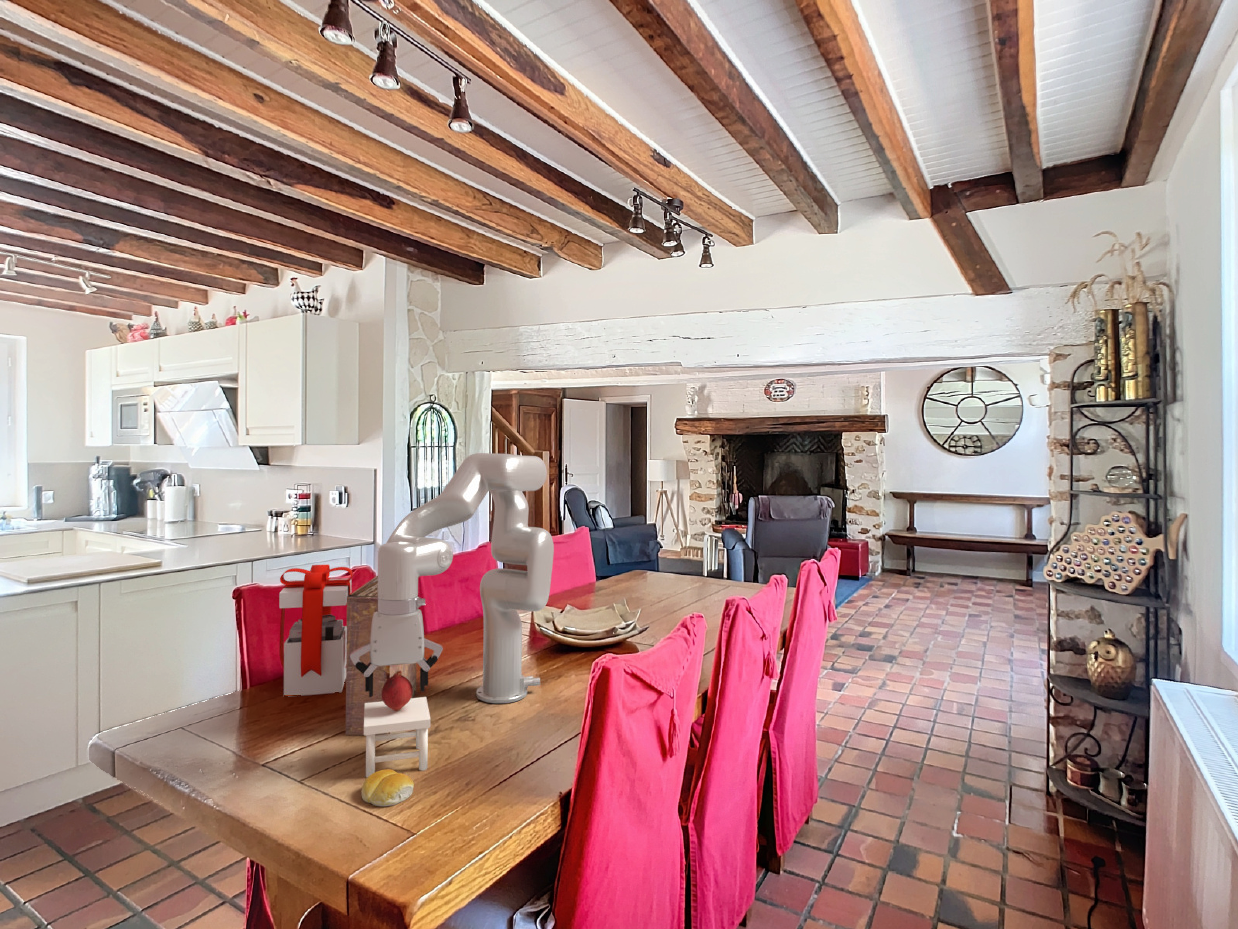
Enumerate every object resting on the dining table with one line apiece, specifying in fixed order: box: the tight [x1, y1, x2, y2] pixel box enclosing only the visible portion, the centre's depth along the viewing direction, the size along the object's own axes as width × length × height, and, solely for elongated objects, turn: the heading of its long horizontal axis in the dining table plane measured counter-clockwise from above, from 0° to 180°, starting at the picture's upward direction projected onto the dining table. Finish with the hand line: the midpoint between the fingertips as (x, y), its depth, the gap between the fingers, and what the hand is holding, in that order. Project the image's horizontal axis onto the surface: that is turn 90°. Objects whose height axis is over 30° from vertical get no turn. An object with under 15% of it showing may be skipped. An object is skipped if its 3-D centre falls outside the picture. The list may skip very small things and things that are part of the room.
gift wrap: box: [278, 564, 354, 696], centre depth 174 cm, size 17×17×30 cm
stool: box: [363, 696, 431, 779], centre depth 135 cm, size 12×12×10 cm
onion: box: [381, 670, 413, 711], centre depth 134 cm, size 6×6×8 cm
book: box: [345, 574, 417, 736], centre depth 158 cm, size 25×9×30 cm, turn 4°
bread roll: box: [361, 768, 415, 807], centre depth 122 cm, size 8×9×4 cm
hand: (396, 692), depth 134 cm, fingers open, 9 cm apart
